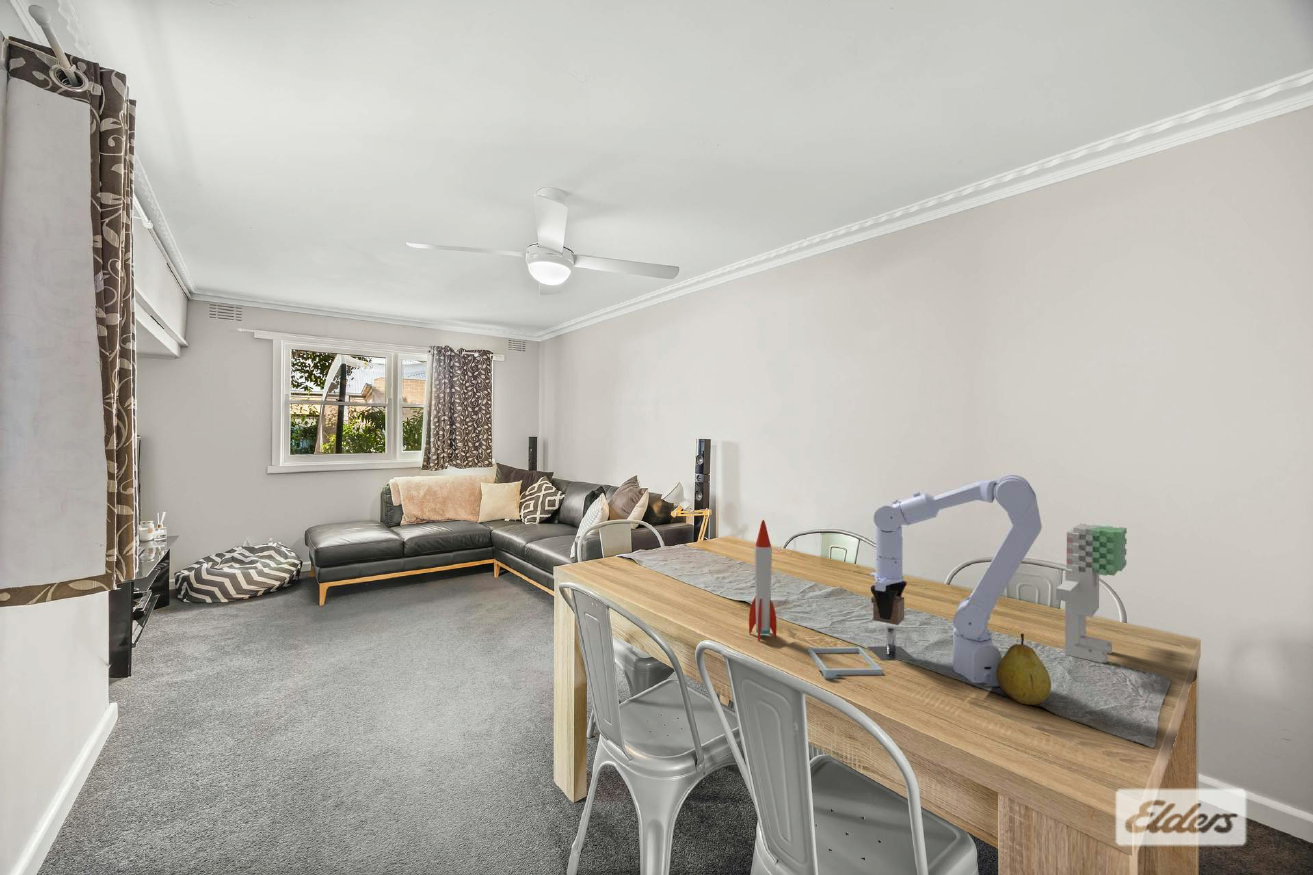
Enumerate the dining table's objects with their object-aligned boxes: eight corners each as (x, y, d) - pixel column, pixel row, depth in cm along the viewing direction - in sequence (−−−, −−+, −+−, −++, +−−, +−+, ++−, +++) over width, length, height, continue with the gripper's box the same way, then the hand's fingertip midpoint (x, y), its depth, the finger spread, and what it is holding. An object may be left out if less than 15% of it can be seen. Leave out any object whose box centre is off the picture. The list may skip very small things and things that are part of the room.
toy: (1114, 681, 115) (1115, 538, 115) (1055, 666, 122) (1056, 532, 122) (1130, 643, 136) (1131, 522, 136) (1079, 632, 143) (1080, 518, 143)
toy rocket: (758, 641, 137) (758, 522, 137) (748, 633, 143) (748, 518, 142) (778, 638, 139) (778, 521, 139) (767, 631, 144) (767, 517, 144)
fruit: (1032, 713, 102) (1032, 649, 102) (986, 692, 110) (986, 632, 110) (1062, 705, 105) (1062, 642, 105) (1015, 684, 113) (1015, 627, 113)
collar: (897, 625, 123) (898, 602, 123) (868, 619, 127) (868, 597, 127) (904, 618, 128) (904, 597, 128) (875, 613, 132) (875, 592, 132)
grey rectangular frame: (882, 678, 116) (882, 669, 116) (825, 679, 116) (825, 669, 116) (859, 655, 128) (859, 647, 128) (808, 656, 128) (808, 647, 128)
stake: (916, 664, 124) (916, 634, 124) (881, 664, 123) (881, 634, 123) (900, 650, 132) (900, 622, 132) (867, 650, 131) (867, 622, 131)
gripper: (880, 549, 135) (880, 604, 135) (861, 559, 124) (861, 619, 124) (910, 553, 131) (910, 609, 131) (894, 564, 119) (894, 626, 120)
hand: (888, 615), depth 127 cm, fingers closed on collar, 5 cm apart
